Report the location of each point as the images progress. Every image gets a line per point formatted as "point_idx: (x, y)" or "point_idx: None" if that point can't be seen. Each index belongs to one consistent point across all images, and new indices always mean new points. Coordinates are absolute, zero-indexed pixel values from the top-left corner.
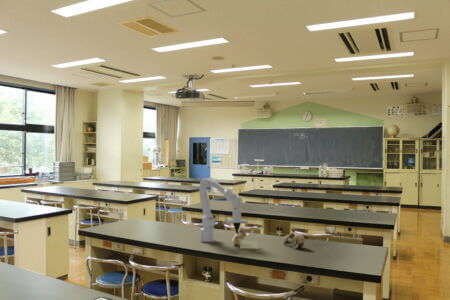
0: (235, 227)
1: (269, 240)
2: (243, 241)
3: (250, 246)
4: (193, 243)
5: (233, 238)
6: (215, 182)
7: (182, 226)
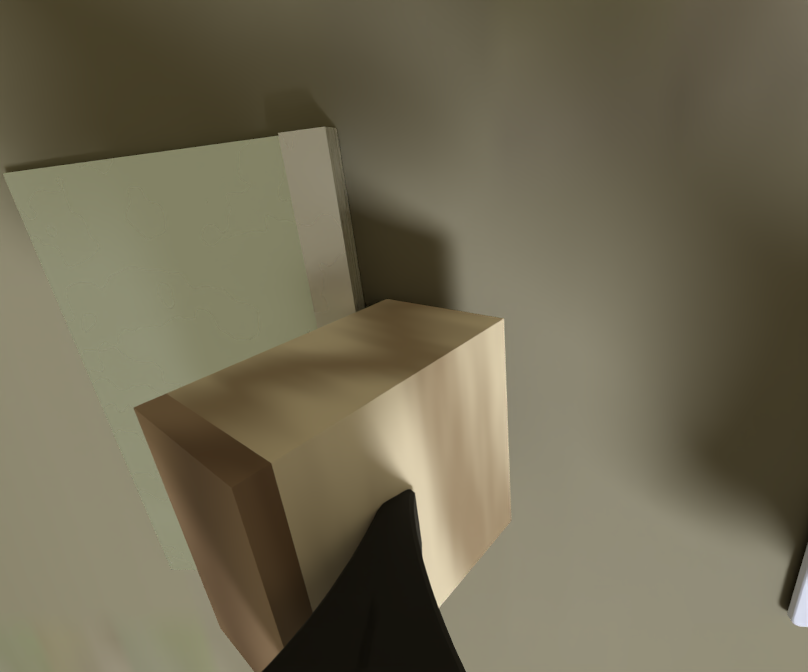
0: (424, 665)
1: (43, 597)
2: None
3: (176, 280)
4: None
5: (482, 426)
6: None
7: None
